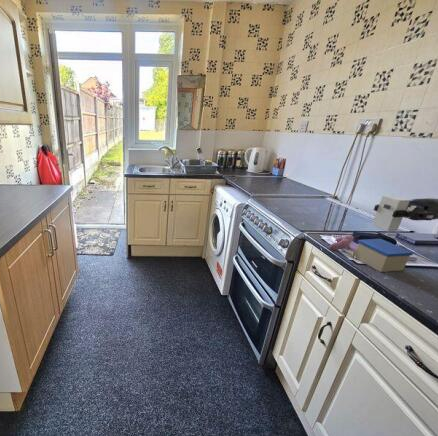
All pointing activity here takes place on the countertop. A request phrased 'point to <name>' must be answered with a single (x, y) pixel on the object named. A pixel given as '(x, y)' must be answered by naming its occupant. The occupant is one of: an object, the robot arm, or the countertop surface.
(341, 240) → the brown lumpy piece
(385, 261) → the container
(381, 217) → the white case
